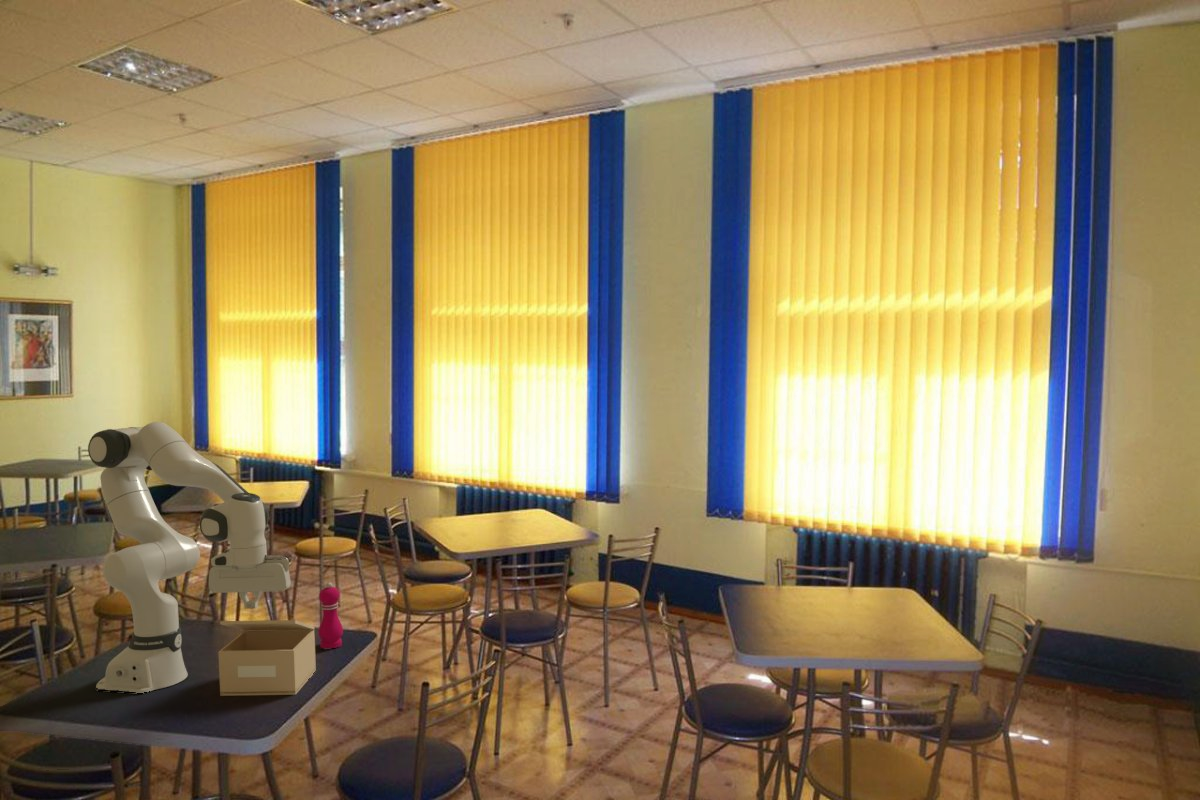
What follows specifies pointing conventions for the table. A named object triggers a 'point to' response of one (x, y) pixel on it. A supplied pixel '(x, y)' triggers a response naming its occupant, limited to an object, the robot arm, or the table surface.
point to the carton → (267, 662)
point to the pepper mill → (330, 618)
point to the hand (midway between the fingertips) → (251, 608)
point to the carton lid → (268, 625)
